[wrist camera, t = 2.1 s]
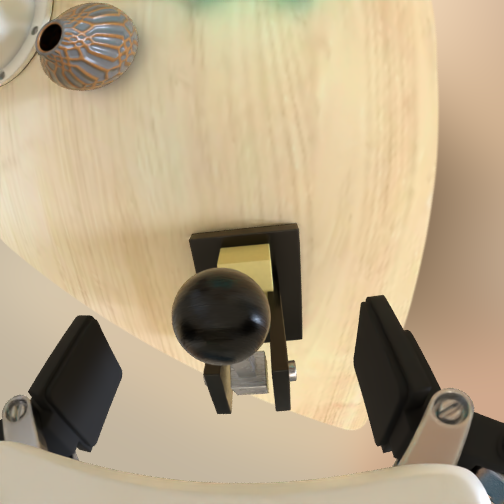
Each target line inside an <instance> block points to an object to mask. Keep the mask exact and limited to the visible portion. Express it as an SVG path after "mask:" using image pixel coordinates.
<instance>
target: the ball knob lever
mask: <svg viewBox="0 0 504 504" xmlns="http://www.w3.org/2000/svg"><path fill="white" fill-rule="evenodd" d="M270 320H271V313H270V307H269V303H268V300H267V298H266V295H265V293H264V292H263V290H262V289H261V287H260V286H259V285H258V284H257V283H256V282H255V281H254V280H253V279H252V278H250V277H249V276H248V275H246V274H244V273H242V272H240V271H238V270H234V269H230V268H211V269H207V270H204V271H201V272H199V273H197V274H195V275H194V276H192V277H191V278H190V279H188V280H187V281H186V282H185V283H184V284H183V285H182V287H181V288H180V290H179V291H178V293H177V295H176V297H175V300H174V303H173V307H172V325H173V329H174V332H175V335H176V337H177V339H178V341H179V343H180V344H181V346H182V347H183V348H184V349H185V350H186V351H187V352H188V353H189V354H190V355H191V356H193V357H194V358H196V359H198V360H199V361H202V362H204V363H207V364H211V365H217V366H227V365H230V377H231V389H232V390H233V391H234V392H235V393H236V394H237V395H249V394H265V393H269V387H268V372H267V360H266V356H265V352H264V351H257V350H258V349H259V348H260V347H261V345H262V344H263V342H264V341H265V339H266V336H267V334H268V331H269V328H270Z"/></svg>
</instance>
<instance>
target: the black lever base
mask: <svg viewBox="0 0 504 504" xmlns="http://www.w3.org/2000/svg"><path fill="white" fill-rule="evenodd" d="M189 242H190V247H191V251H192V256H193V260H194V265H195V269H196V274H197V273H199V272H201V271H204V270H207V269H211V268H217V263H218V258H219V253H220V249H221V248H228V247H238V246H249V245H259V244H269V248H270V258H271V269H272V280H273V291H269V292H267V298H268V303H269V307H270V313H271V320H270V328H269V331H268V334H267V336H266V339H265V341H264V342H263V343H268V342H270V349H271V368H272V379H273V389H274V398H275V408H276V411H287V410H291V403H290V381H296V365H295V361H294V360H292V361H288V355H287V346H286V341H289V340H299V339H302V295H301V265H300V242H299V228H298V225H297V224H285V225H275V226H264V227H254V228H244V229H234V230H224V231H215V232H206V233H197V234H192V235H191V237H190V239H189ZM203 375H204V382H205V385H206V386H207V387H208V390H209V392H210V395H211V398H212V401H213V403H214V406H215V409H216V411H217V414H231V411H232V395H233V390H232V389H231V377H230V365H227V366H217V365H211V364H207V363H205V368H204V374H203Z"/></svg>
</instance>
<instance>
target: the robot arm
mask: <svg viewBox="0 0 504 504" xmlns="http://www.w3.org/2000/svg"><path fill="white" fill-rule="evenodd" d="M52 4H53V0H0V86H2V85H4V84H6V83H8V82H9V81H11V80H12V79H13V78H15V77H16V76H17V75H18V74H19V73H20V72H21V71H22V70H23V69H24V68H25V67H26V65H27V64H28V62H29V61H30V60H31V58H32V57H33V55H34V54H35V52H36V48H35V41H36V37H37V35H38V33H39V31H40V29H41V28H42V27H43V26H44V25H45V24H46V23H47V22H49V20H50V16H51V12H52ZM354 368H355V372H356V375H357V378H358V382H359V385H360V389H361V392H362V396H363V399H364V403H365V406H366V410H367V413H368V417H369V421H370V424H371V428H372V432H373V436H374V439H375V443H376V445H377V446H381V447H382V450H383V453H386V452H390V451H392V452H393V455H394V457H395V458H396V461H395V463H394V465H393V467H389V468H384V469H379V470H373V471H367V472H361V473H355V474H350V475H343V476H336V477H329V478H322V479H313V480H301V481H290V482H276V483H211V482H196V481H184V480H175V479H166V478H159V477H152V476H145V475H139V474H134V473H128V472H123V471H118V470H114V469H109V468H104V467H101V466H96V465H93V464H89V463H85V462H81V461H79V460H78V457H77V454H76V452H75V450H76V448H78V449H80V450H83V451H87V452H91V450H92V447H93V446H94V445H95V444H96V443H97V441H98V438H99V435H100V432H101V430H102V427H103V424H104V422H105V419H106V416H107V414H108V411H109V408H110V406H111V403H112V401H113V398H114V396H115V393H116V391H117V388H118V386H119V383H120V381H121V378H122V370H121V367H120V366H119V363H118V362H117V360H116V358H115V356H114V354H113V352H112V350H111V348H110V346H109V344H108V342H107V340H106V338H105V336H104V334H103V332H102V330H101V328H100V325H99V323H98V321H97V320H95V319H94V318H93V317H92V316H82V315H81V316H77V317H76V318H75V319H74V321H73V322H72V324H71V325H70V327H69V328H68V330H67V331H66V333H65V334H64V336H63V337H62V339H61V340H60V341H59V343H58V344H57V346H56V348H55V349H54V351H53V352H52V354H51V355H50V357H49V358H48V360H47V361H46V363H45V365H44V366H43V368H42V369H41V371H40V373H39V374H38V376H37V378H36V379H35V381H34V383H33V384H32V386H31V388H30V389H29V391H28V392H29V394H30V395H31V396H32V398H31V400H30V399H29V398H28V397H27V396H24V395H17V396H14V397H13V398H11V399H10V400H9V401H8V402H7V403H6V404H5V406H4V408H3V411H2V419H1V420H0V504H491V502H493V503H494V504H504V423H502V422H499V421H496V420H494V419H491V418H488V417H485V416H483V415H480V414H478V413H475V412H474V406H473V402H472V400H471V399H470V397H469V396H468V395H467V394H466V393H465V392H463V391H460V390H459V389H454V388H447V389H443V390H441V389H440V387H439V384H438V383H437V381H436V378H435V377H434V374H433V373H432V371H431V368H430V366H429V365H428V363H427V361H426V359H425V357H424V355H423V353H422V351H421V349H420V347H419V346H418V344H417V342H416V340H415V338H414V336H413V335H412V333H411V332H410V331H409V330H403V328H402V326H401V325H400V323H399V321H398V319H397V317H396V315H395V314H394V312H393V310H392V308H391V306H390V305H389V303H388V301H387V299H386V298H385V296H384V295H380V296H372V297H367V298H366V302H362V303H361V307H360V315H359V324H358V332H357V339H356V346H355V353H354ZM487 494H488V495H489V496H490V497H491V498H490V499H489V497H488V495H487Z"/></svg>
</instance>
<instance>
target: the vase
mask: <svg viewBox="0 0 504 504" xmlns="http://www.w3.org/2000/svg"><path fill="white" fill-rule="evenodd" d="M137 44H138V37H137V32H136V28H135V26H134V24H133V22H132V20H131V19H130V18H129V17H128V16H127V15H126V14H125V13H124V12H123V11H121V10H120V9H118V8H116V7H114V6H112V5H109V4H104V3H86V4H81V5H78V6H75V7H73V8H71V9H69V10H67V11H65V12H64V13H62V14H61V15H60V16H58V17H57V18H56V19H54V20H51V21H49V22H47V23H46V24H45V25H44V26H43V27H42V28H41V29H40V31H39V33H38V35H37V37H36V41H35V48H36V51H37V53H38V54H39V55H40V61H41V65H42V68H43V70H44V72H45V73H46V75H47V76H48V77H49V78H50V79H51V80H52V81H53V82H55V83H56V84H58V85H60V86H62V87H64V88H67V89H71V90H79V91H83V90H93V89H97V88H100V87H103V86H105V85H108V84H109V83H111V82H113V81H114V80H116V79H117V78H119V77H120V76H121V75H122V74H123V73H124V72H125V71H126V70H127V68H128V67H129V66H130V64H131V63H132V61H133V59H134V56H135V54H136V50H137Z"/></svg>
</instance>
